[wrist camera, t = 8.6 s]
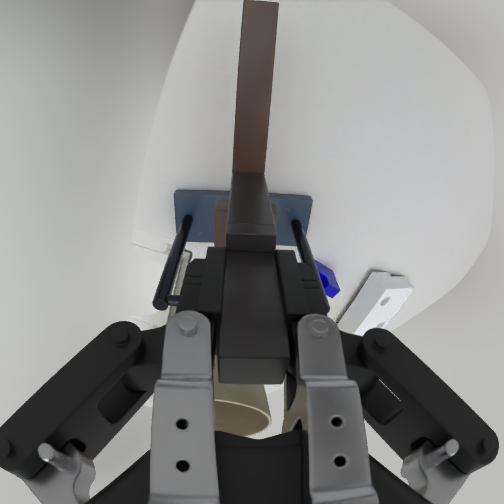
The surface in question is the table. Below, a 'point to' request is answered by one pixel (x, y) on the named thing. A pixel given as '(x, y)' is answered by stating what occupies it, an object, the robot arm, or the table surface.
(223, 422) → the plant pot
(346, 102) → the table surface
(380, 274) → the bracket
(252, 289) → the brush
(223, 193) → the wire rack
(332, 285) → the cable holder
